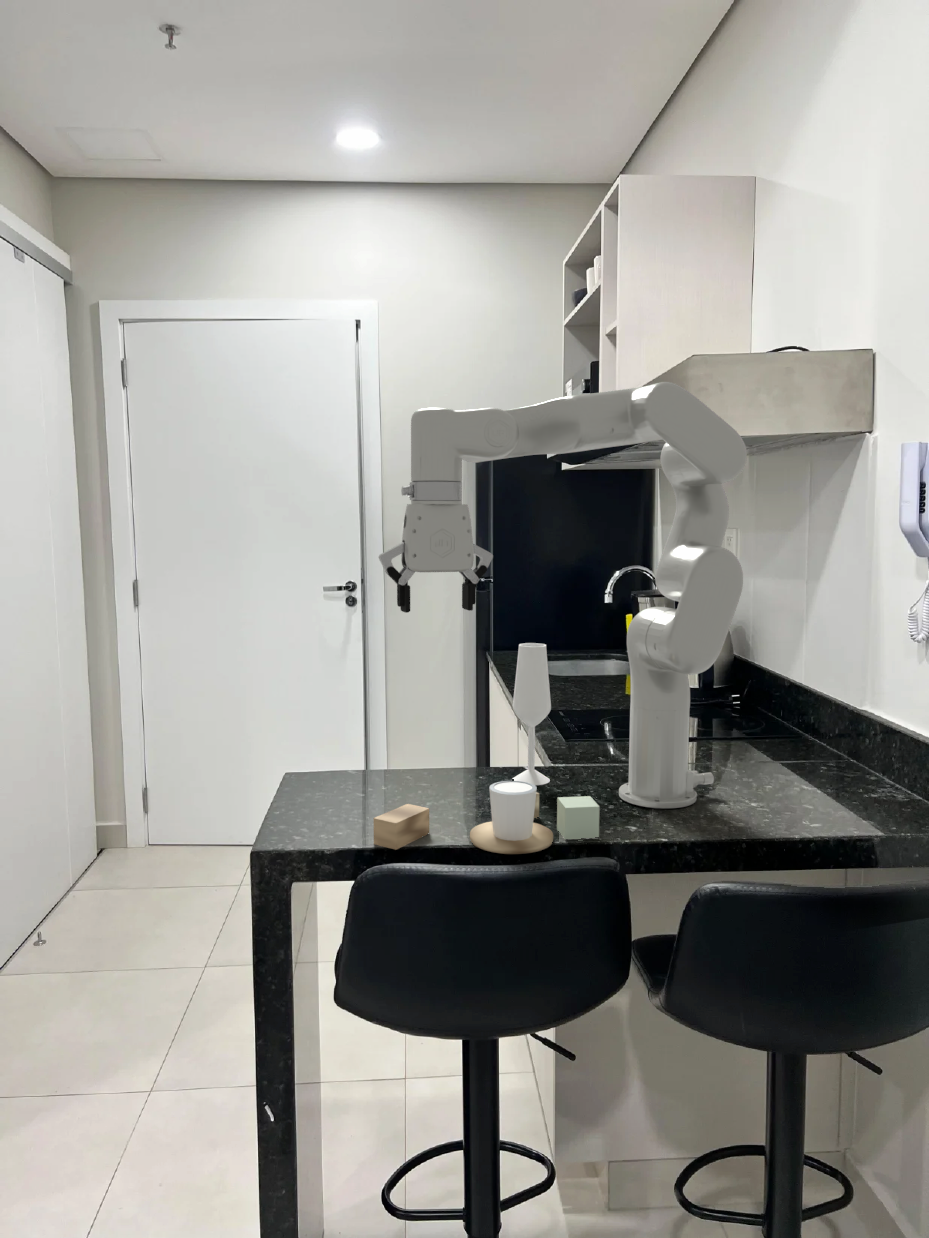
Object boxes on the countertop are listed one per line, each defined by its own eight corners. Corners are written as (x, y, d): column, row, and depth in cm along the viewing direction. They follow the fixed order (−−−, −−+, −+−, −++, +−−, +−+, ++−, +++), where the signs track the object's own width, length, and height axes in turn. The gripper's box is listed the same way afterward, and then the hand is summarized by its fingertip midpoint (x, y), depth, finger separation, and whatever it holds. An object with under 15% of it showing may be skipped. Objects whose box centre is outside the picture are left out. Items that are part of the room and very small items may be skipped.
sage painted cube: (589, 828, 141) (590, 796, 140) (598, 840, 136) (599, 806, 135) (556, 830, 140) (557, 797, 140) (565, 841, 135) (565, 807, 135)
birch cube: (523, 811, 149) (523, 786, 148) (538, 818, 145) (539, 793, 145) (502, 815, 146) (503, 790, 146) (518, 823, 143) (518, 797, 143)
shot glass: (546, 833, 136) (546, 785, 135) (517, 845, 131) (517, 796, 130) (508, 822, 140) (508, 777, 140) (479, 834, 135) (479, 787, 134)
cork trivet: (534, 821, 143) (534, 816, 143) (566, 848, 132) (566, 843, 132) (459, 829, 140) (459, 824, 140) (485, 858, 128) (485, 852, 128)
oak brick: (407, 829, 140) (407, 803, 140) (429, 834, 138) (429, 808, 138) (373, 845, 134) (373, 818, 133) (396, 851, 132) (395, 823, 131)
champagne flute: (543, 773, 170) (545, 641, 167) (555, 784, 163) (557, 647, 160) (507, 775, 168) (508, 642, 165) (517, 786, 162) (519, 648, 159)
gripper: (385, 493, 132) (385, 615, 134) (500, 494, 137) (499, 611, 139) (373, 494, 139) (374, 609, 141) (483, 495, 144) (483, 606, 146)
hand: (436, 610), depth 140 cm, fingers open, 9 cm apart
